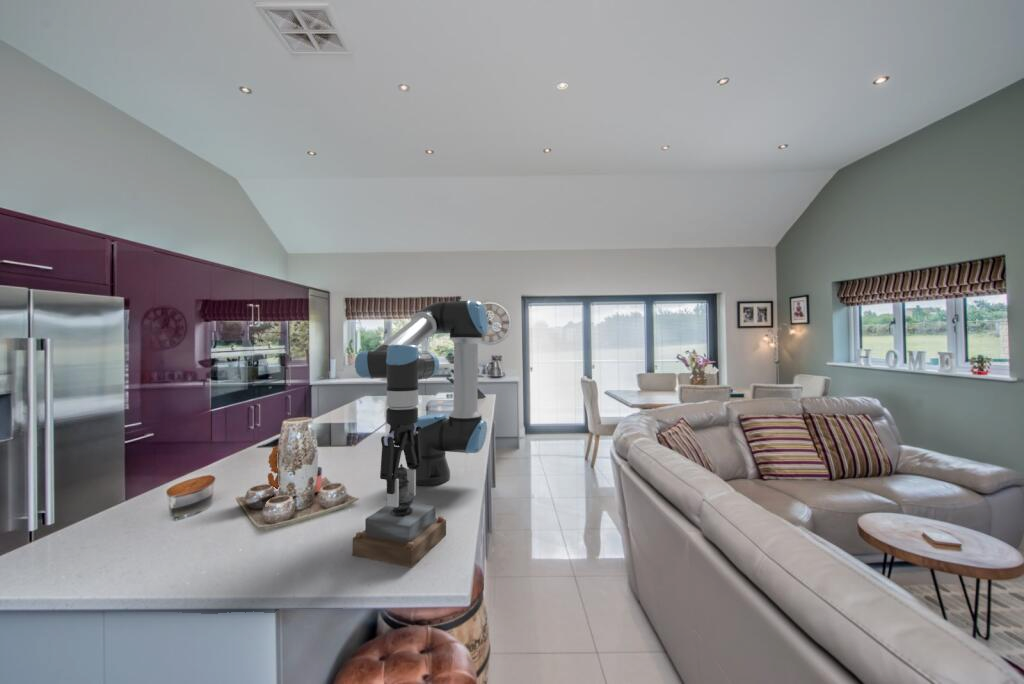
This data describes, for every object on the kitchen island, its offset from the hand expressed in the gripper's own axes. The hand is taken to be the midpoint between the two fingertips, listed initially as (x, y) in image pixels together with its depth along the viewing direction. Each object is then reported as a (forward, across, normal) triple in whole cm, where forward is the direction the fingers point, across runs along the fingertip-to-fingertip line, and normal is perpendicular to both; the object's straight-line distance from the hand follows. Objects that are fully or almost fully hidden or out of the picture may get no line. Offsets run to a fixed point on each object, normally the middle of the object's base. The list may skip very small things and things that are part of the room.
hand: (401, 500), depth 98 cm
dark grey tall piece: (+3, 0, 0) cm, 3 cm away
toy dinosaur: (+11, -14, -53) cm, 56 cm away
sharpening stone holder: (+11, 0, 0) cm, 11 cm away
